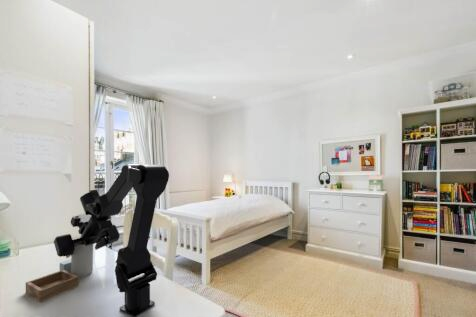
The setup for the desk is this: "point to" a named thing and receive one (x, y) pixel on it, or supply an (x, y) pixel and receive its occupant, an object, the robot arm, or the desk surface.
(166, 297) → the desk surface
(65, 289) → the tray
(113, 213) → the robot arm
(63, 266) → the block
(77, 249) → the beverage can
